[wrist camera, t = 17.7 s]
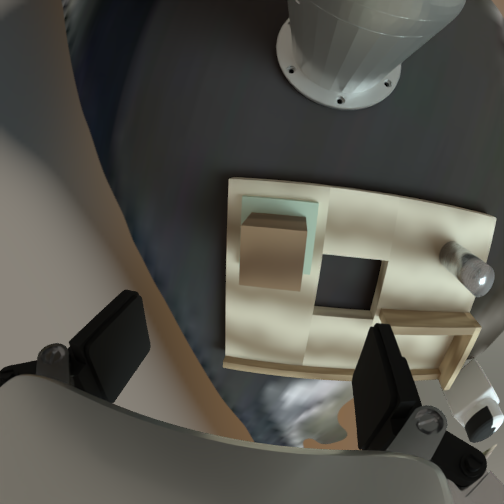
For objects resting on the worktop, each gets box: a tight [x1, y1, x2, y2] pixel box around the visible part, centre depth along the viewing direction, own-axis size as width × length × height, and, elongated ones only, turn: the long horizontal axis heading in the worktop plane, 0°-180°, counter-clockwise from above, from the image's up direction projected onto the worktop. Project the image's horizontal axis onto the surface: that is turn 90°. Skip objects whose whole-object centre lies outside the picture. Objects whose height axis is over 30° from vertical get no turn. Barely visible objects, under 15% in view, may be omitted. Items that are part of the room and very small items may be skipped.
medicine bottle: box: [441, 359, 504, 443], centre depth 26 cm, size 7×7×12 cm
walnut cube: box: [239, 212, 307, 292], centre depth 24 cm, size 5×5×5 cm
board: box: [223, 177, 496, 391], centre depth 27 cm, size 22×30×6 cm
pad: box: [239, 195, 319, 275], centre depth 27 cm, size 7×7×1 cm
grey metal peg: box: [439, 241, 494, 297], centre depth 21 cm, size 3×3×7 cm
